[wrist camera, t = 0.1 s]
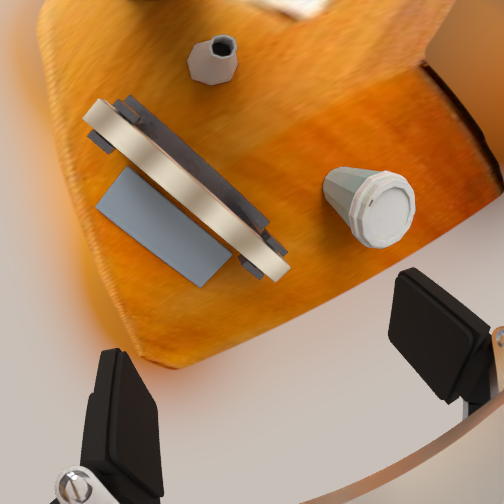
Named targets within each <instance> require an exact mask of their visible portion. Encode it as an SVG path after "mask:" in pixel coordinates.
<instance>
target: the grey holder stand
mask: <svg viewBox="0 0 504 504" xmlns="http://www.w3.org/2000/svg"><path fill="white" fill-rule="evenodd" d="M113 106H114V107H115V109H116V110H118V111H119V112H120V113H121V114H122V115H123V116H125V117H126V118H127V119H128V120H129V121H130V122H131V123H133V124H134V125H135V126H136V127H137V128H138V129H140V130H141V131H142V132H143V133H144V134H145V135H146V136H148V137H149V138H150V139H151V140H152V141H153V142H155V143H156V144H157V145H158V146H159V147H160V148H161V149H163V150H164V151H165V152H166V153H167V154H168V155H169V156H171V157H172V158H173V159H174V160H175V161H176V162H177V163H178V164H180V165H181V166H182V167H183V168H184V169H185V170H186V171H188V172H189V173H190V174H191V175H192V176H193V177H194V178H195V179H197V180H198V181H199V182H200V183H201V184H202V185H203V186H204V187H206V188H207V189H208V190H209V191H210V192H211V193H212V194H213V195H215V196H216V197H217V198H218V199H219V200H220V201H221V202H222V203H224V204H225V205H226V206H227V207H228V208H229V209H230V210H231V211H232V212H234V213H235V214H236V215H237V216H238V217H239V218H240V219H241V220H242V221H244V222H245V223H246V224H247V225H248V226H249V227H250V228H251V229H252V230H253V231H255V232H256V233H257V234H258V235H259V236H260V237H261V238H262V239H263V240H265V241H266V242H267V243H268V244H269V245H270V246H271V247H272V248H273V249H274V250H276V251H277V252H279V253H280V254H281V255H282V256H283V257H284V256H285V255H286V254H287V253H288V251H287V250H286V249H285V248H284V246H283V245H282V244H281V243H280V242H279V241H278V240H277V239H276V238H275V237H274V236H273V235H271V234H270V233H269V232H268V231H267V230H266V229H264V230H262V229H263V228H264V227H265V226H266V225H267V224H268V223H269V222H270V221H269V220H268V219H267V218H266V217H265V216H264V215H263V214H262V213H260V212H259V211H258V210H257V209H256V208H255V207H254V206H253V205H252V204H251V203H250V202H249V201H248V200H247V199H246V198H245V197H244V196H242V195H241V194H240V193H239V192H238V191H237V190H236V189H235V188H234V187H233V186H232V185H231V184H230V183H229V182H227V181H226V180H225V179H224V178H223V177H222V176H221V175H220V174H219V173H218V172H217V171H216V170H215V169H213V168H212V167H211V166H210V165H209V164H208V163H207V162H206V161H205V160H204V159H202V158H201V157H200V156H199V155H198V154H197V153H196V152H195V151H194V150H193V149H191V148H190V147H189V146H188V145H187V144H186V143H185V142H184V141H183V140H181V139H180V138H179V137H178V136H177V135H176V134H175V133H174V132H172V131H171V130H170V129H169V128H168V127H167V126H166V125H165V124H163V123H162V122H161V121H160V120H159V119H158V118H157V117H155V116H154V115H153V114H152V113H151V112H150V111H149V110H147V109H146V108H145V107H144V106H143V105H142V104H141V103H139V102H138V101H137V100H136V99H135V98H134V97H132V96H131V95H129V96H128V97H127V98H126V100H125V101H124V102H123V101H122V100H120V99H117V101H116V102H115V103H114V104H113ZM87 137H88V138H90V139H91V140H92V141H93V142H94V143H95V144H97V145H98V146H99V147H100V148H101V149H102V150H104V151H105V152H106V153H107V154H110V153H112V152H113V151H114V150H115V149H116V147H115V146H113V145H112V144H111V143H110V142H109V141H108V140H106V139H105V138H104V137H103V136H102V135H101V134H99V133H98V132H97V131H96V130H92V131H91V132H90V133H89V134H88V136H87ZM238 258H239V260H240V262H241V265H242V266H243V267H244V268H245V269H247V270H248V271H249V272H250V273H252V274H253V275H254V276H255V277H257V278H258V279H259V280H260V279H261V278H262V277H263V276H264V274H263V272H262V271H261V270H260V269H259V268H258V267H257V266H255V265H254V264H253V263H252V262H251V261H249V260H248V259H247V258H246V257H245V256H243V255H242V254H240V255H239V256H238Z"/></svg>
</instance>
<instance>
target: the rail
mask: <svg viewBox="0 0 504 504" xmlns="http://www.w3.org/2000/svg"><path fill="white" fill-rule="evenodd" d="M83 120H84V121H86V122H87V123H88V124H89V125H90V126H91V127H92V128H94V129H95V130H96V131H97V132H98V133H99V134H101V135H102V136H103V137H104V138H105V139H106V140H108V141H109V142H110V143H111V144H112V145H113V146H115V147H116V148H117V149H118V150H119V151H120V152H122V153H123V154H124V155H125V156H126V157H127V158H129V159H130V160H131V161H132V162H133V163H134V164H136V165H137V166H138V167H139V168H140V169H142V170H143V171H144V172H145V173H146V174H147V175H149V176H150V177H151V178H152V179H153V180H154V181H156V182H157V183H158V184H159V185H160V186H162V187H163V188H164V189H165V190H166V191H167V192H169V193H170V194H171V195H172V196H173V197H174V198H176V199H177V200H178V201H179V202H180V203H182V204H183V205H184V206H185V207H186V208H187V209H189V210H190V211H191V212H192V213H193V214H195V215H196V216H197V217H198V218H199V219H201V220H202V221H203V222H204V223H205V224H206V225H208V226H209V227H210V228H211V229H212V230H214V231H215V232H216V233H217V234H218V235H220V236H221V237H222V238H223V239H224V240H225V241H227V242H228V243H229V244H230V245H231V246H233V247H234V248H235V249H236V250H237V251H239V252H240V253H241V254H242V255H243V256H245V257H246V258H247V259H248V260H249V261H251V262H252V263H253V264H254V265H255V266H257V267H258V268H259V269H260V270H261V271H263V272H264V273H265V274H266V275H267V276H269V277H270V278H271V279H272V280H273V281H275V282H277V281H278V280H279V279H280V278H281V277H282V276H283V275H284V274H285V273H286V272H287V271H288V270H289V269H290V268H291V267H290V266H289V265H288V263H287V262H286V261H285V259H284V258H283V257H282V256H281V255H280V254H279V253H278V252H277V251H276V250H274V249H273V248H272V247H271V246H270V245H269V244H268V243H267V242H266V241H265V240H263V239H262V238H261V237H260V236H259V235H258V234H257V233H256V232H255V231H253V230H252V229H251V228H250V227H249V226H248V225H247V224H246V223H245V222H244V221H242V220H241V219H240V218H239V217H238V216H237V215H236V214H235V213H234V212H232V211H231V210H230V209H229V208H228V207H227V206H226V205H225V204H224V203H222V202H221V201H220V200H219V199H218V198H217V197H216V196H215V195H213V194H212V193H211V192H210V191H209V190H208V189H207V188H206V187H204V186H203V185H202V184H201V183H200V182H199V181H198V180H197V179H195V178H194V177H193V176H192V175H191V174H190V173H189V172H188V171H186V170H185V169H184V168H183V167H182V166H181V165H180V164H178V163H177V162H176V161H175V160H174V159H173V158H172V157H171V156H169V155H168V154H167V153H166V152H165V151H164V150H163V149H161V148H160V147H159V146H158V145H157V144H156V143H155V142H153V141H152V140H151V139H150V138H149V137H148V136H146V135H145V134H144V133H143V132H142V131H141V130H140V129H138V128H137V127H136V126H135V125H134V124H133V123H131V122H130V121H129V120H128V119H127V118H126V117H125V116H123V115H122V114H121V113H120V112H119V111H118V110H116V109H115V108H114V107H113V106H112V105H111V104H109V103H108V102H107V101H106V100H103V99H98V100H97V101H96V102H95V104H94V105H93V106H92V107H91V108H90V110H89V111H88V112H87V113H86V115H85V116H84V117H83Z"/></svg>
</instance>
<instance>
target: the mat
mask: <svg viewBox="0 0 504 504" xmlns="http://www.w3.org/2000/svg"><path fill="white" fill-rule="evenodd" d="M95 208H97V209H98V210H99V211H100V212H101V213H103V214H104V215H105V216H106V217H108V218H109V219H110V220H111V221H113V222H114V223H115V224H116V225H118V226H119V227H120V228H121V229H123V230H124V231H125V232H127V233H128V234H129V235H130V236H132V237H133V238H134V239H135V240H137V241H138V242H139V243H141V244H142V245H143V246H145V247H146V248H147V249H148V250H150V251H151V252H152V253H154V254H155V255H156V256H158V257H159V258H160V259H162V260H163V261H164V262H166V263H167V264H168V265H170V266H171V267H172V268H174V269H175V270H176V271H178V272H179V273H181V274H182V275H183V276H185V277H186V278H187V279H189V280H190V281H191V282H193V283H194V284H196V285H197V286H198V287H200V288H201V287H202V286H203V285H204V284H205V283H206V282H207V281H208V280H209V279H210V278H211V277H212V276H213V275H214V274H215V272H216V271H217V270H218V269H219V268H220V267H221V266H222V265H223V264H224V263H225V262H226V261H227V260H228V259H229V258H230V257H231V256H232V252H231V251H229V250H228V249H227V248H226V247H225V246H223V245H222V244H221V243H220V242H219V241H217V240H216V239H215V238H214V237H212V236H211V235H210V234H209V233H208V232H206V231H205V230H204V229H203V228H202V227H200V226H199V225H198V224H197V223H196V222H194V221H193V220H192V219H191V218H190V217H188V216H187V215H186V214H185V213H184V212H182V211H181V210H180V209H179V208H178V207H176V206H175V205H174V204H173V203H172V202H171V201H169V200H168V199H167V198H166V197H165V196H163V195H162V194H161V193H160V192H159V191H157V190H156V189H155V188H154V187H153V186H152V185H150V184H149V183H148V182H147V181H146V180H144V179H143V178H142V177H141V176H140V175H139V174H137V173H136V172H135V171H134V170H133V169H131V168H130V167H129V166H127V167H126V168H125V169H124V170H123V171H122V173H121V174H120V175H119V176H118V178H117V179H116V180H115V182H114V183H113V184H112V185H111V187H110V188H109V189H108V191H107V192H106V193H105V194H104V196H103V197H102V198H101V200H100V201H99V203H98V204H97V205H96V207H95Z"/></svg>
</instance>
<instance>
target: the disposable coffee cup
mask: <svg viewBox="0 0 504 504" xmlns="http://www.w3.org/2000/svg"><path fill="white" fill-rule="evenodd" d="M323 191H324V195H325V199H326V200H327V201H328V202H329V203H330V205H331V206H332V207H333V208H334V209H335V210H336V212H337V213H338V214H339V215H340V216H341V217H342V219H343V220H344V221H345V222H346V223H347V225H348V226H349V227H350V228H351V231H352V234H353V235H354V236H355V237H356V238H357V239H358V240H359V241H360V242H361V243H362V244H363V245H365V246H367V247H371V248H380V249H383V248H386V247H388V246H390V245H392V244H393V243H395V242H397V241H399V240H400V239H401V238H402V236H403V235H404V234H405V233H406V231H407V230H408V229H409V228H410V225H411V222H412V219H413V216H414V213H415V196H414V191H413V189H412V188H411V186H410V185H409V184H408V182H407V181H406V179H405V178H404V177H402V176H401V175H399V174H395V173H392V172H389V171H383V172H379V171H372V170H365V169H358V168H350V167H339V168H336V169H334V170H331V171H330V172H329V174H328V175H327V176H326V177H325V179H324V184H323Z"/></svg>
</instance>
